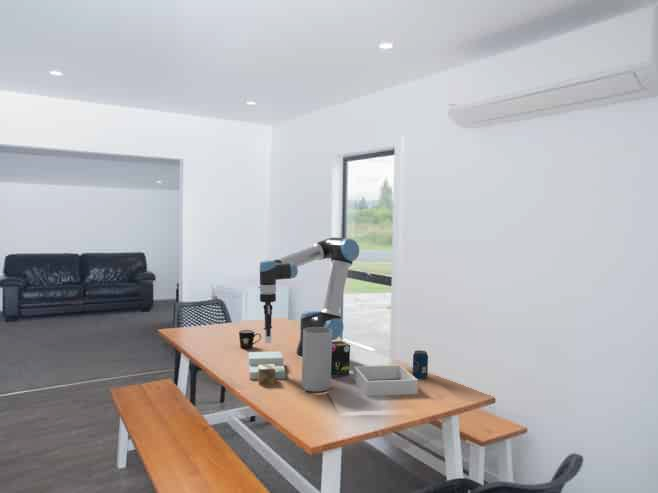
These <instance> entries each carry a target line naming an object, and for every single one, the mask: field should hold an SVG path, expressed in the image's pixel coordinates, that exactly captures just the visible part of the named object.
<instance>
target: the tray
mask: <svg viewBox="0 0 658 493" xmlns="http://www.w3.org/2000/svg"><path fill="white" fill-rule="evenodd" d="M352 375H353V377H352V379H353V381H354V382H355V383H356V385H357V386H358V387H359V388H360V390H361V391H362V392H363V394H364V395H365V396H366V397H378V396H379V397H380V396H381V397H382V396H383V397H384V396H402V395H403V396H405V395H406V396H407V395H418V394H419V379H417V378H415V377H414V376H413V373H411V372H409V371H408V370H407V369H406V368H405V367H404V366H402V365H401V364H391V365H389V364H388V365H360V366H359V365H354V366H353V374H352ZM392 379H393V380H392Z"/></svg>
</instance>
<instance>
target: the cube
mask: <svg viewBox="0 0 658 493" xmlns="http://www.w3.org/2000/svg"><path fill="white" fill-rule="evenodd" d="M257 381H258V383H257V384H258V386H259V385H260V386H261V385H275V384H276V379H275V366H274V364H258V379H257Z"/></svg>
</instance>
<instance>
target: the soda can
mask: <svg viewBox="0 0 658 493" xmlns="http://www.w3.org/2000/svg"><path fill="white" fill-rule="evenodd" d="M428 367H429V355H428V352H427V351H425V350H415V351H414V353H413V355H412V375H413V376H414V377H415V378H416V379H418V380H426V378H427V377H428V371H429V369H428Z"/></svg>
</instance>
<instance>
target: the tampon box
mask: <svg viewBox="0 0 658 493" xmlns="http://www.w3.org/2000/svg"><path fill="white" fill-rule="evenodd" d="M350 358H351V344H348V343H346V342H344V341H342V340H336V341H335V340H333V341H332V357H331V379H333V378H339V377H345V376H346V377H347V376H349V375H350V361H351V360H350Z"/></svg>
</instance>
